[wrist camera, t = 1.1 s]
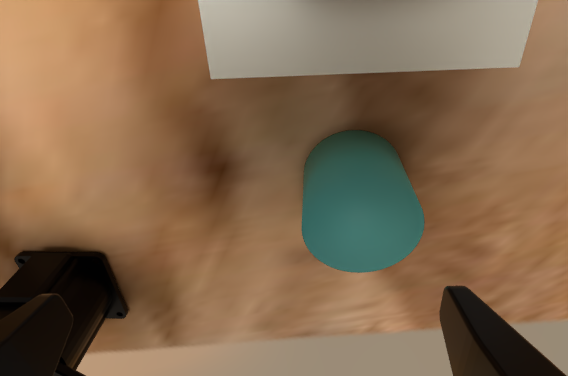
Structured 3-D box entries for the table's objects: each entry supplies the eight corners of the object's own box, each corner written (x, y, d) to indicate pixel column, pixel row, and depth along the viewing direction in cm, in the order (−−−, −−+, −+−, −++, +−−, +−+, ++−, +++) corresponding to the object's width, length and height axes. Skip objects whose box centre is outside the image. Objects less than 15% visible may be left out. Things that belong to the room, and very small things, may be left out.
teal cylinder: (395, 212, 22) (415, 273, 18) (305, 213, 22) (303, 272, 18) (406, 128, 19) (433, 176, 15) (302, 131, 19) (299, 178, 15)
